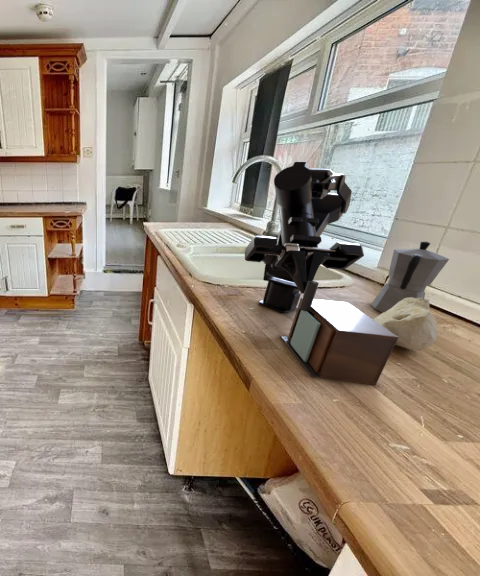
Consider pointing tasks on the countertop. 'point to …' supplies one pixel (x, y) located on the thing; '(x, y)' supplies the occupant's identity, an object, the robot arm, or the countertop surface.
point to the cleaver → (305, 324)
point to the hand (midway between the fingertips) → (304, 292)
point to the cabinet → (345, 343)
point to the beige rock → (410, 323)
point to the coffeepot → (409, 275)
